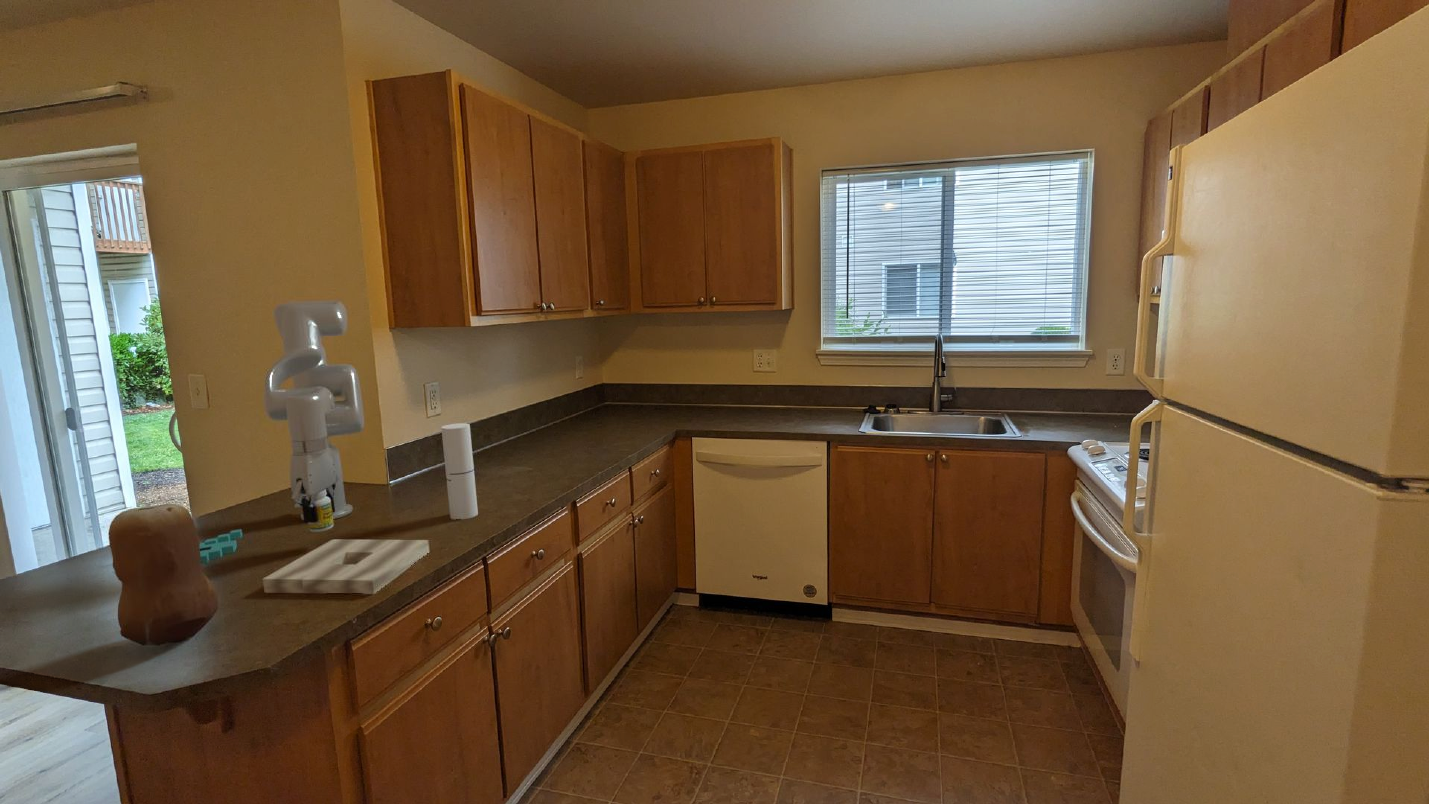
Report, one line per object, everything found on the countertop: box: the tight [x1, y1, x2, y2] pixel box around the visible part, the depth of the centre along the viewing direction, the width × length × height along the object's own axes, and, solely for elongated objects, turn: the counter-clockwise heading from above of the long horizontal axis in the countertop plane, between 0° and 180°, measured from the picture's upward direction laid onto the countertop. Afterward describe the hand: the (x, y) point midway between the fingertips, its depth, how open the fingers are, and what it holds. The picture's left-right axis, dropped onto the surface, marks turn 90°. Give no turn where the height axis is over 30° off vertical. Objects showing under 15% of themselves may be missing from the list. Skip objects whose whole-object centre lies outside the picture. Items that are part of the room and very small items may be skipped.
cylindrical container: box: [440, 422, 479, 520], centre depth 181 cm, size 7×7×25 cm
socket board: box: [262, 538, 430, 595], centre depth 148 cm, size 24×22×3 cm
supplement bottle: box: [307, 489, 335, 533], centre depth 162 cm, size 5×5×10 cm
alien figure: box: [199, 528, 244, 565], centre depth 159 cm, size 20×2×20 cm
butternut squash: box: [108, 503, 219, 646], centre depth 118 cm, size 14×13×25 cm
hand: (320, 516), depth 162 cm, fingers closed on supplement bottle, 5 cm apart
